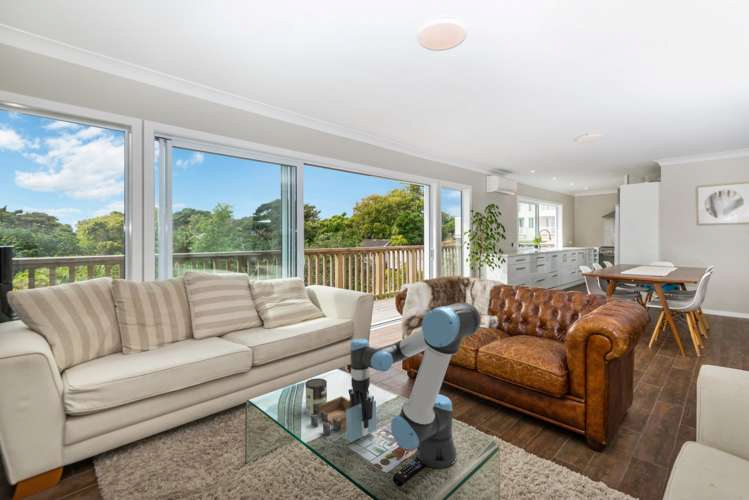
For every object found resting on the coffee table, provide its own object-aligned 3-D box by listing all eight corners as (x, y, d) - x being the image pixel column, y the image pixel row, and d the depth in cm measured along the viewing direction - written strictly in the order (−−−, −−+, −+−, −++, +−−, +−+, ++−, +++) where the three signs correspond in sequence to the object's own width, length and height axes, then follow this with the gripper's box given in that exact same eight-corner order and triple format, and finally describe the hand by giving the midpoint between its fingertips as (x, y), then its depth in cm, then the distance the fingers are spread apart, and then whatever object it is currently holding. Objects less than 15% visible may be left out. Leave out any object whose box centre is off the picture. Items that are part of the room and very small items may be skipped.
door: (371, 425, 157) (370, 398, 157) (376, 428, 155) (375, 400, 154) (346, 438, 147) (345, 409, 147) (351, 442, 145) (350, 412, 145)
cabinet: (365, 420, 166) (365, 407, 166) (331, 437, 153) (331, 423, 152) (341, 408, 179) (341, 396, 178) (308, 422, 165) (308, 409, 165)
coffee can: (330, 406, 180) (329, 378, 179) (323, 417, 170) (322, 387, 169) (310, 405, 182) (309, 377, 181) (302, 415, 172) (301, 385, 171)
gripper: (380, 379, 147) (382, 436, 148) (354, 370, 159) (355, 423, 159) (367, 385, 142) (368, 444, 143) (341, 374, 153) (342, 429, 154)
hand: (361, 433), depth 151 cm, fingers closed on door, 3 cm apart
